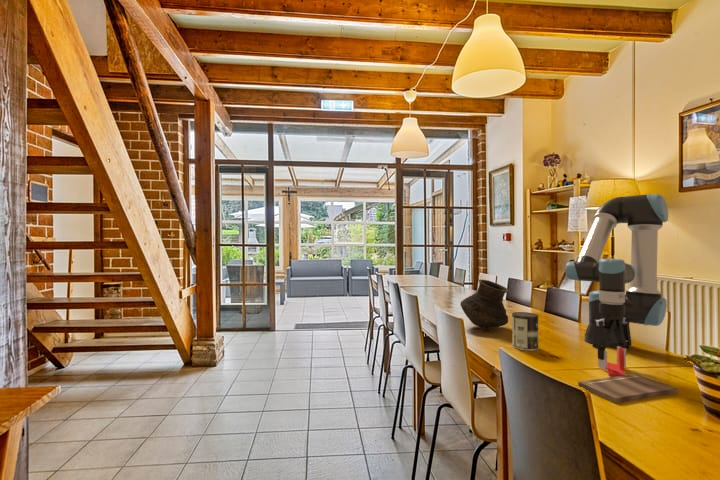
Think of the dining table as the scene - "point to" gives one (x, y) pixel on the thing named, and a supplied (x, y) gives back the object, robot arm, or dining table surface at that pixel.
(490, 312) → the ceramic pot
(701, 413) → the dining table surface
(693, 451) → the dining table surface
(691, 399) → the dining table surface
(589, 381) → the walnut board
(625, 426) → the dining table surface
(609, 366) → the bracket
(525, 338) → the coffee can
